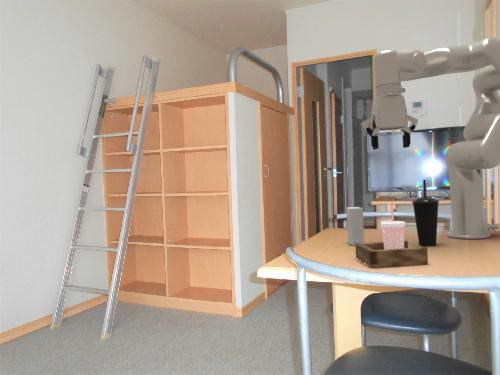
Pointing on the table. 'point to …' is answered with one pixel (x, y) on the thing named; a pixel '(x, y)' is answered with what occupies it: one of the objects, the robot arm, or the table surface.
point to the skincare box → (355, 225)
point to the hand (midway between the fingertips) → (391, 148)
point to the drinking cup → (426, 218)
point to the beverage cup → (393, 233)
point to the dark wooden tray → (390, 255)
